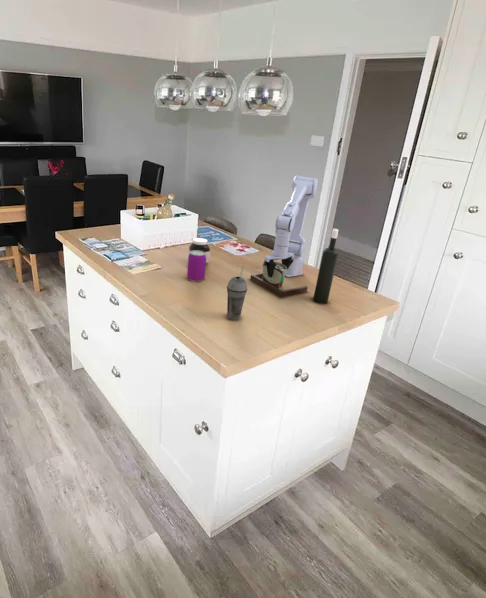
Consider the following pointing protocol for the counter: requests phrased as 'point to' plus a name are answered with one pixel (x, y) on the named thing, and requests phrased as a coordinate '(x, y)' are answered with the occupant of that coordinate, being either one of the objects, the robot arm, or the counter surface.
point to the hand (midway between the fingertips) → (276, 275)
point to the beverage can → (196, 265)
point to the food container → (275, 275)
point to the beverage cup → (236, 296)
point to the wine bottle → (326, 271)
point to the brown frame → (258, 280)
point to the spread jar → (200, 247)
